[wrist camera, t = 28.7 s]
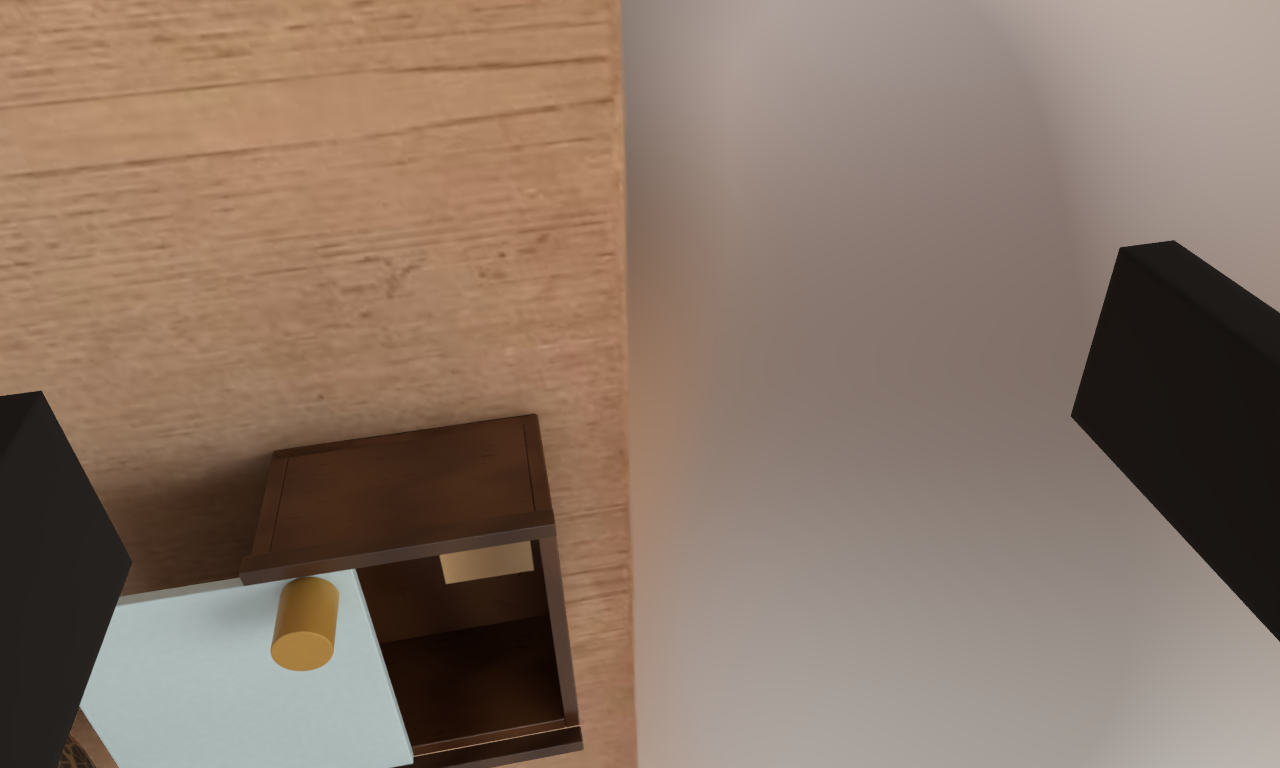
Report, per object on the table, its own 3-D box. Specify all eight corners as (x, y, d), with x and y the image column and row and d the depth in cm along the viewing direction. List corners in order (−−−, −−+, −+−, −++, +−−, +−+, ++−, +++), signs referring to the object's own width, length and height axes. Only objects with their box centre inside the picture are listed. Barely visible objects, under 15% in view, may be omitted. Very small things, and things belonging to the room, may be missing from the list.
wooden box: (535, 400, 46) (555, 523, 39) (564, 619, 56) (583, 750, 49) (269, 438, 45) (237, 573, 37) (345, 656, 54) (332, 798, 47)
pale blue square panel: (352, 558, 39) (346, 624, 36) (413, 753, 48) (412, 819, 45) (28, 610, 38) (-5, 682, 35) (150, 802, 46) (131, 874, 43)
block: (518, 447, 47) (525, 505, 43) (527, 511, 49) (534, 570, 46) (430, 459, 46) (431, 519, 43) (444, 523, 49) (445, 584, 45)
